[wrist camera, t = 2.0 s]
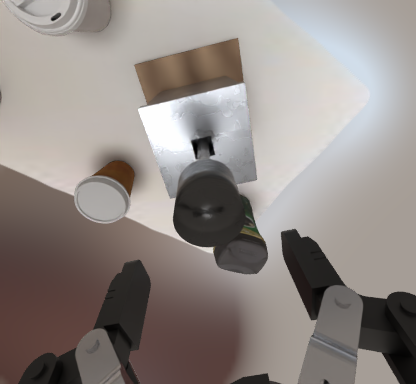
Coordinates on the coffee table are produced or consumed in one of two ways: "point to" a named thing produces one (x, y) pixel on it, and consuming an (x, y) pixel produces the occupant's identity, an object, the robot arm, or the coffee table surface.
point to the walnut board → (190, 68)
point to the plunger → (207, 200)
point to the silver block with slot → (200, 128)
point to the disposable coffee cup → (105, 193)
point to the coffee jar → (243, 248)
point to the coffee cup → (61, 15)
